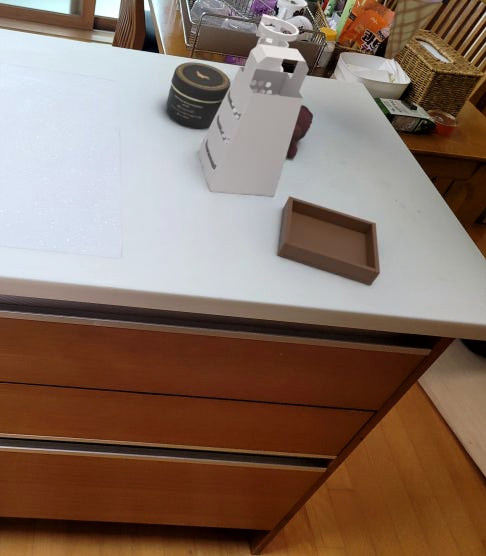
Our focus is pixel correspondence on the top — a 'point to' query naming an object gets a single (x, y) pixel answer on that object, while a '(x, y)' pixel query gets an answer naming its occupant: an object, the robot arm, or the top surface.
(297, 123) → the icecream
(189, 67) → the jar
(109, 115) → the top surface
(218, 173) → the grater
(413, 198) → the top surface
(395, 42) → the ice cream cone
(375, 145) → the top surface
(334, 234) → the tray
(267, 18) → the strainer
